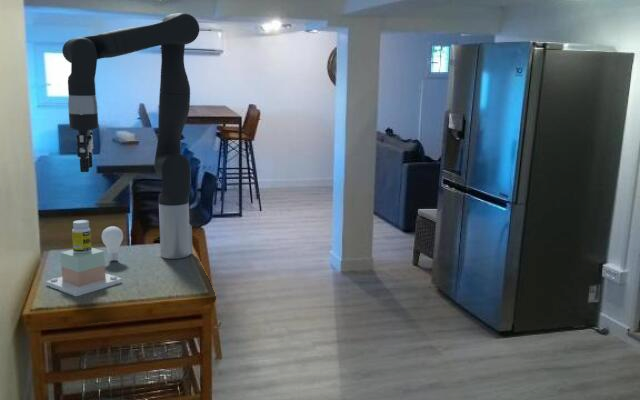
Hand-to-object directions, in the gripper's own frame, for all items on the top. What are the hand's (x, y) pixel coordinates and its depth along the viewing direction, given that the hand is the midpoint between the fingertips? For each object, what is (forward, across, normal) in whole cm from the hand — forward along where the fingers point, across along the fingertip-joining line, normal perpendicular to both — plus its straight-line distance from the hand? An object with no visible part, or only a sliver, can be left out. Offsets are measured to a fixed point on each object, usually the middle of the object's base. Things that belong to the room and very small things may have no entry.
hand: (86, 169), depth 171 cm
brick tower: (+30, +11, -1) cm, 32 cm away
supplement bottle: (+21, +11, -1) cm, 24 cm away
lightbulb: (+30, -10, +5) cm, 32 cm away
